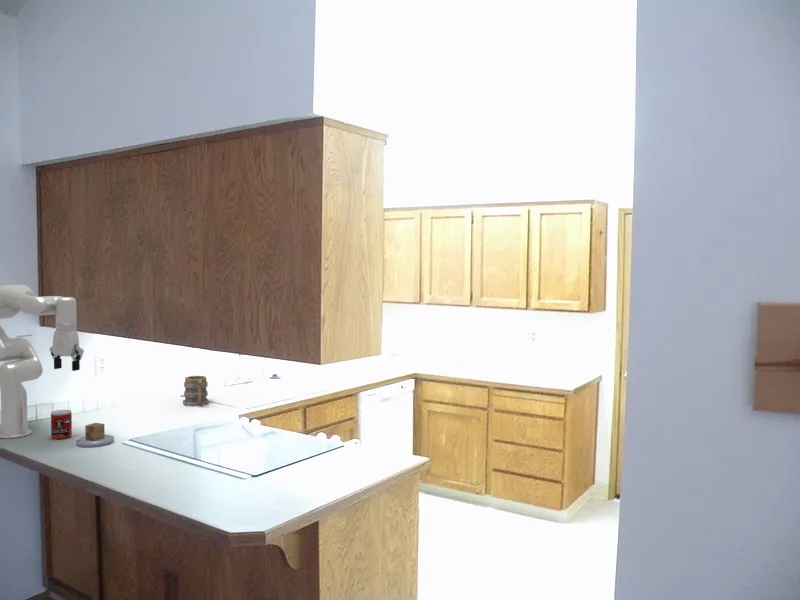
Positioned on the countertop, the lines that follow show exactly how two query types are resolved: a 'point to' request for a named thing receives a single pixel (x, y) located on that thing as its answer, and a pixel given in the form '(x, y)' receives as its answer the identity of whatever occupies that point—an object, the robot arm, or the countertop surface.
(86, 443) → the dish
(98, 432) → the walnut block
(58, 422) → the canned food
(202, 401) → the tankard
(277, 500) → the countertop surface
